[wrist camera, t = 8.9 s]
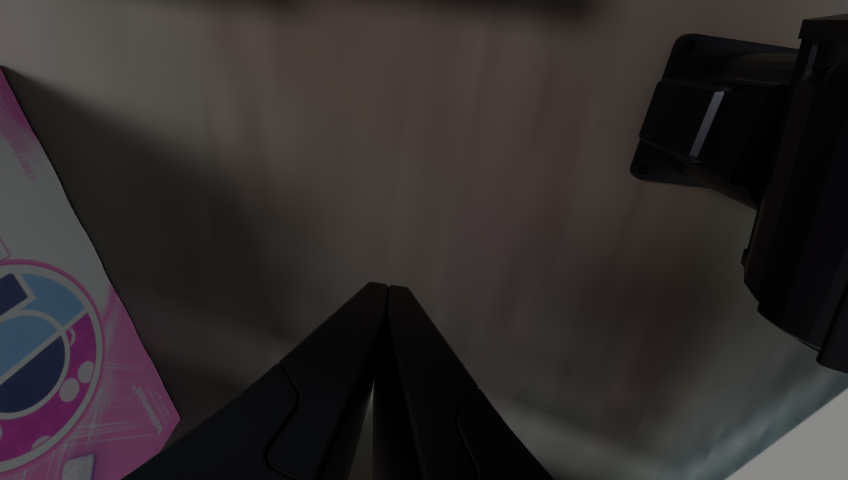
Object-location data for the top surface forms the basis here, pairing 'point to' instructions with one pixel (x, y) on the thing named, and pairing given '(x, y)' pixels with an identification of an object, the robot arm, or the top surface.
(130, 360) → the gum box
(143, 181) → the top surface
